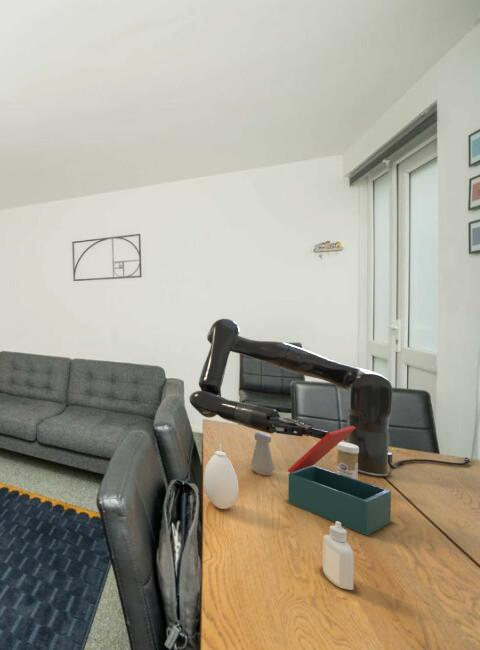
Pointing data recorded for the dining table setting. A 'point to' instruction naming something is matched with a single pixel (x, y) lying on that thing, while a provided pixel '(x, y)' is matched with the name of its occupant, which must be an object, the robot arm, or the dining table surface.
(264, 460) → the salt shaker
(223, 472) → the sauce bottle
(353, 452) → the sprinkles bottle
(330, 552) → the eye dropper bottle
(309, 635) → the dining table surface
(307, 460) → the lid
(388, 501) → the lunchbox
